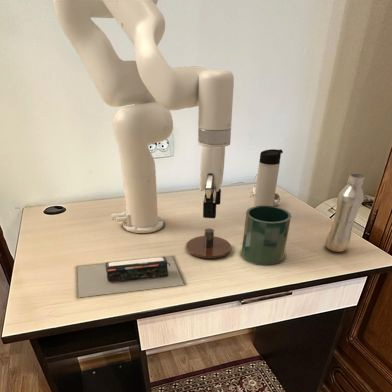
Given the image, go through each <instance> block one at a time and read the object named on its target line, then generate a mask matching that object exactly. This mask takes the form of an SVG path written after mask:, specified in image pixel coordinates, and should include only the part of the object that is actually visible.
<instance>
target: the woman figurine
mask: <svg viewBox="0 0 392 392" xmlns="http://www.w3.org/2000/svg"><path fill="white" fill-rule="evenodd" d="M255 191H256V185H254V186H253V188H252V194H250V195H249V196H248V197H249V198H252V197H253V196H255ZM280 202H281V197H280V195H279V192H275V197H274V203H273V206H274V207H277V206H278V205H279V204H280Z"/></svg>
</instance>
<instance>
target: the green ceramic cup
mask: <svg viewBox="0 0 392 392" xmlns="http://www.w3.org/2000/svg"><path fill="white" fill-rule="evenodd" d="M291 222H292V213H291V212H289V211H288V210H287V209H285V208H282V207H279V206H255V207H254V206H252V207H249V208H248V209H247V210H246V211H245V216H244V227H243V234H242V244H241V257H242V258H243V259H244V260H245V261H247V262H250V263H251V264H255V265H259V266H260V265H261V266H272V265H276V264H278V263H280V262H282V261H283V259H284V257H285V254H286V253H285V252H286V248H287V242H288V237H289V233H290V232H289V231H290V228H291V227H290V226H291Z"/></svg>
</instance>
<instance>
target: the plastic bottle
mask: <svg viewBox="0 0 392 392" xmlns="http://www.w3.org/2000/svg"><path fill="white" fill-rule="evenodd" d="M364 180H365V175H363V174H362V173H350V174H349V177H348V180H347V181H346V183H347V185H345V186H344V188H342V190H340V192H339V193H338V195H337V200H336V207H335V213H334V217H333V222H332V224H331V227H330V229H329V232H328V233H327V236H326V239H325V246H326V248H327V250H330V251H331V252H336V253H341V252H345V251H346V250H347V249H348V247H349V245H350V243H351V237H352V236H351V235H352V230H353V226H354V223H355V220H356V217H357V214H358V213H359V211H360V208H361V207H362V204H363V201H364V191H363V188H362V186H363V184H364Z"/></svg>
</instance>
